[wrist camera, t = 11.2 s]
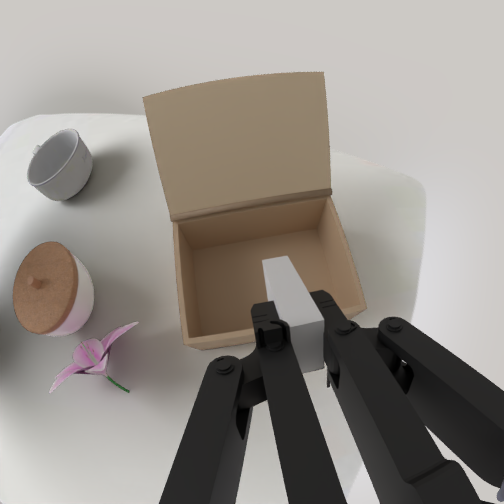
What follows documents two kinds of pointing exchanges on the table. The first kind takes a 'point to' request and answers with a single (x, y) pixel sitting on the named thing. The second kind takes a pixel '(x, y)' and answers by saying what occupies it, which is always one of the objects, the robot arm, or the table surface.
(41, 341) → the table surface
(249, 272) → the mailer box
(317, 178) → the lid
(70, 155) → the teacup
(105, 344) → the lily
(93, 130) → the table surface
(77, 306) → the lidded jar
